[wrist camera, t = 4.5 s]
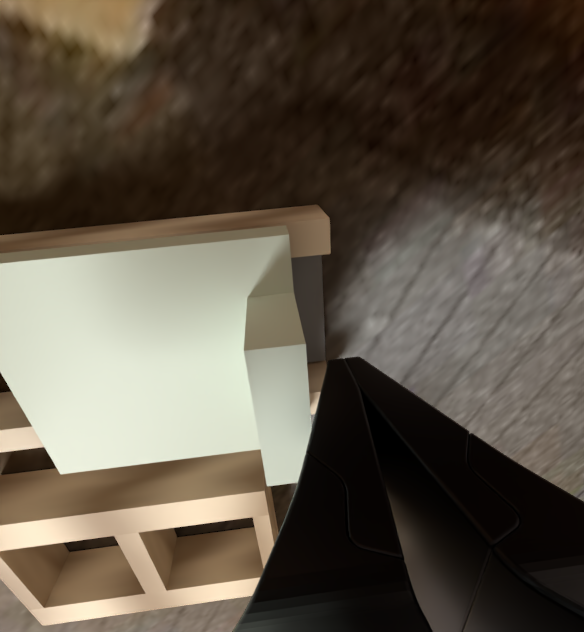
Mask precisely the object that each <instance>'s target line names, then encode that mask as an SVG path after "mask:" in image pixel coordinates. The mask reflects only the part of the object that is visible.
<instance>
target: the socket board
mask: <svg viewBox="0 0 584 632" xmlns="http://www.w3.org/2000/svg"><path fill="white" fill-rule="evenodd" d="M250 517H253V522H254V527H251V528H243V529H236V530H229V531H221V532H214V533H207V534H199V535H192V536H184V537H177V535H176V533H175V530H174V528H176V527H183V526H191V525H198V524H206V523H213V522H220V521H228V520H235V519H243V518H250ZM278 534H279V533H278V527H277V521H276V515H275V509H274V502H273V496H272V490H271V486H267V484H266V478H265V472H264V466H263V460H262V455H261V449H259V450H251V451H243V452H235V453H227V454H219V455H211V456H203V457H195V458H187V459H179V460H171V461H163V462H155V463H148V464H140V465H132V466H124V467H116V468H108V469H100V470H92V471H84V472H76V473H68V474H60V473H59V471H58V469H57V468H54V469H46V470H38V471H30V472H22V473H14V474H6V475H0V579H1V580H2V581H3V582H4V583H5V584H6V585H7V586H8V588H9V589H10V590H11V591H12V592H13V593H14V594H15V595H16V596H17V597H18V599H19V600H20V601H21V602H22V603H23V604H24V605H25V606H26V607H27V609H28V610H29V611H30V612H31V613H32V614H33V615H34V616H35V617H36V618H37V620H38V621H39V622H40V623H41V624H42V625H43V626H44V625H51V624H58V623H65V622H72V621H79V620H86V619H93V618H100V617H107V616H114V615H121V614H128V613H135V612H141V611H148V610H155V609H162V608H169V607H176V606H183V605H190V604H197V603H204V602H211V601H218V600H225V599H232V598H239V597H246V596H252V595H253V593H254V591H255V588H256V586H257V584H258V582H259V579H260V577H261V575H262V572H263V570H264V567H265V565H266V563H267V560H268V558H269V555H270V553H271V550H272V548H273V546H274V543H275V541H276V538H277V536H278ZM109 536H114V537H115V539H116V540H117V542H118V544H119V545H118V546H111V547H103V548H96V549H89V550H81V551H74V552H69V550H68V549H67V547H66V546H65V545H64V542H72V541H79V540H87V539H94V538H101V537H109Z"/></svg>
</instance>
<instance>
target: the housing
mask: <svg viewBox="0 0 584 632" xmlns="http://www.w3.org/2000/svg"><path fill="white" fill-rule="evenodd" d="M283 225H286V227H287V230H288V233H289V240H290V252H291V265H292V277H293V289H294V295H295V300H296V304H297V308H298V313H299V317H300V321H301V326H302V330H303V334H304V338H305V343H306V354H307V369H308V383H309V398H310V412H311V414H315V413H316V409H317V405H318V401H319V396H320V392H321V388H322V384H323V380H324V376H325V372H326V368H327V365H326V362H325V360H326V355H325V329H324V303H323V278H322V255H324V254H331V247H330V218H329V217H328V216H327V215H326V214H325V213H324V211H323V210H322V209H321V208H320V207H319V206H318V205H308V206H298V207H287V208H277V209H267V210H256V211H246V212H236V213H225V214H215V215H205V216H194V217H184V218H174V219H163V220H153V221H143V222H132V223H122V224H112V225H101V226H91V227H81V228H70V229H60V230H50V231H39V232H29V233H19V234H8V235H0V253H10V252H20V251H31V250H41V249H51V248H61V247H71V246H81V245H91V244H101V243H111V242H121V241H132V240H142V239H152V238H162V237H172V236H182V235H192V234H202V233H212V232H223V231H233V230H243V229H253V228H263V227H273V226H283ZM41 447H44V445H43V444H42V442H41V440H40V439H39V437H38V435H37V434H36V432H35V430H34V429H33V427H32V425H31V423H30V422H29V420H28V418H27V417H26V415H25V413H24V412H23V410H22V408H21V406H20V405H19V403H18V401H17V400H16V398H15V396H14V395H13V393H12V391H11V392H3V393H0V452H8V451H16V450H25V449H33V448H41Z"/></svg>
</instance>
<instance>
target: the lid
mask: <svg viewBox="0 0 584 632" xmlns="http://www.w3.org/2000/svg"><path fill="white" fill-rule="evenodd" d="M0 373H1V374H2V376H3V378H4V379H5V381H6V383H7V384H8V386H9V388H10V390H11V391H12V393H13V395H14V396H15V398H16V400H17V401H18V403H19V405H20V406H21V408H22V410H23V412H24V413H25V415H26V417H27V418H28V420H29V422H30V423H31V425H32V427H33V429H34V430H35V432H36V434H37V435H38V437H39V439H40V440H41V442H42V444H43V445H44V447H45V449H46V451H47V452H48V454H49V456H50V457H51V459H52V461H53V462H54V464H55V466H56V468H57V469H58V471H59V473H60V474H68V473H76V472H84V471H92V470H100V469H108V468H116V467H124V466H132V465H140V464H148V463H155V462H163V461H171V460H179V459H187V458H195V457H203V456H211V455H219V454H227V453H235V452H243V451H251V450H259V449H261V455H262V460H263V466H264V472H265V478H266V484H267V486H275V485H283V484H290V483H298V479H299V476H300V472H301V469H302V465H303V461H304V457H305V455H306V450H307V445H308V441H309V437H310V433H311V429H312V426H311V412H310V398H309V383H308V369H307V354H306V343H305V338H304V334H303V330H302V326H301V321H300V317H299V313H298V308H297V304H296V300H295V295H294V289H293V277H292V265H291V252H290V240H289V233H288V230H287V227H286V225H283V226H273V227H263V228H253V229H243V230H233V231H223V232H212V233H202V234H192V235H182V236H172V237H162V238H152V239H142V240H132V241H121V242H111V243H101V244H91V245H81V246H71V247H61V248H51V249H41V250H31V251H20V252H10V253H0Z"/></svg>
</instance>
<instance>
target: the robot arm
mask: <svg viewBox="0 0 584 632" xmlns="http://www.w3.org/2000/svg"><path fill="white" fill-rule="evenodd" d="M232 632H584V502H583V501H582V500H580V499H578V498H576V497H575V496H573V495H571V494H569V493H568V492H566V491H564V490H562V489H561V488H559V487H557V486H556V485H554V484H552V483H550V482H549V481H547V480H545V479H543V478H542V477H540V476H538V475H537V474H535V473H533V472H532V471H530V470H528V469H527V468H525V467H523V466H522V465H520V464H518V463H517V462H515V461H513V460H512V459H510V458H509V457H507V456H506V455H504V454H503V453H501V452H500V451H498V450H497V449H495V448H493V447H492V446H490V445H489V444H487V443H486V442H484V441H483V440H481V439H480V438H479V437H477V436H476V435H474V434H472V433H470V434H469V431H468V430H467V429H465V428H464V427H462V426H461V425H459V424H458V423H456V422H455V421H453V420H452V419H450V418H449V417H447V416H446V415H445V414H443V413H442V412H440V411H439V410H437V409H436V408H434V407H433V406H431V405H430V404H428V403H427V402H425V401H424V400H422V399H421V398H420V397H418V396H417V395H415V394H414V393H412V392H411V391H409V390H408V389H406V388H405V387H403V386H402V385H400V384H399V383H397V382H396V381H395V380H393V379H392V378H390V377H389V376H387V375H386V374H384V373H383V372H381V371H380V370H378V369H377V368H375V367H374V366H373V365H371V364H370V363H368V362H367V361H365V360H364V359H362V358H361V357H350V358H345V359H333V360H329V361H328V364H327V368H326V372H325V376H324V380H323V384H322V388H321V392H320V396H319V401H318V405H317V409H316V413H315V417H314V421H313V425H312V429H311V433H310V437H309V441H308V445H307V450H306V455H305V457H304V461H303V465H302V469H301V472H300V476H299V479H298V483H297V486H296V490H295V492H294V495H293V498H292V501H291V503H290V506H289V509H288V511H287V514H286V517H285V519H284V521H283V524H282V526H281V529H280V531H279V534H278V536H277V538H276V541H275V543H274V546H273V548H272V550H271V553H270V555H269V558H268V560H267V563H266V565H265V567H264V570H263V572H262V575H261V577H260V579H259V582H258V584H257V586H256V588H255V591H254V593H253V595H252V597H251V599H250V601H249V603H248V605H247V607H246V609H245V611H244V613H243V615H242V617H241V618H240V620H239V622H238V623H237V625H236V627H235V628H234V629H233V631H232Z"/></svg>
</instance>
